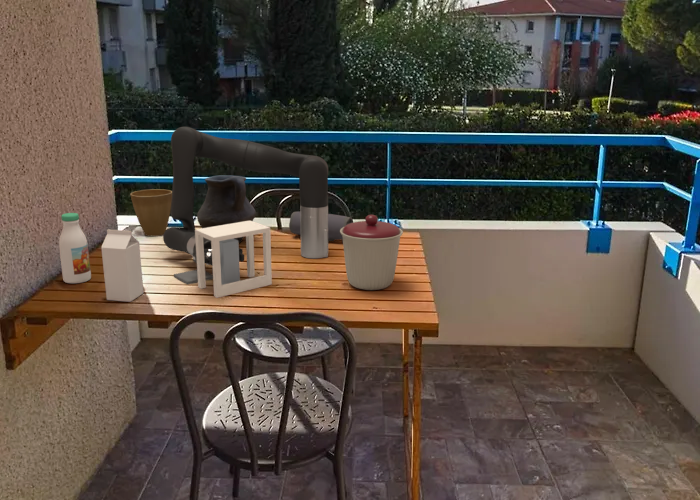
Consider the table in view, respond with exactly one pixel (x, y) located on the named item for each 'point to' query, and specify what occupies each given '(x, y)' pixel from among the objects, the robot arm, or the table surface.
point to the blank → (229, 261)
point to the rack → (240, 231)
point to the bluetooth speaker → (333, 225)
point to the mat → (191, 276)
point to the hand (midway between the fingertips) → (230, 260)
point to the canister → (370, 252)
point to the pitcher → (225, 202)
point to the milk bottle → (73, 251)
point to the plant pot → (152, 210)
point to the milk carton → (122, 266)
